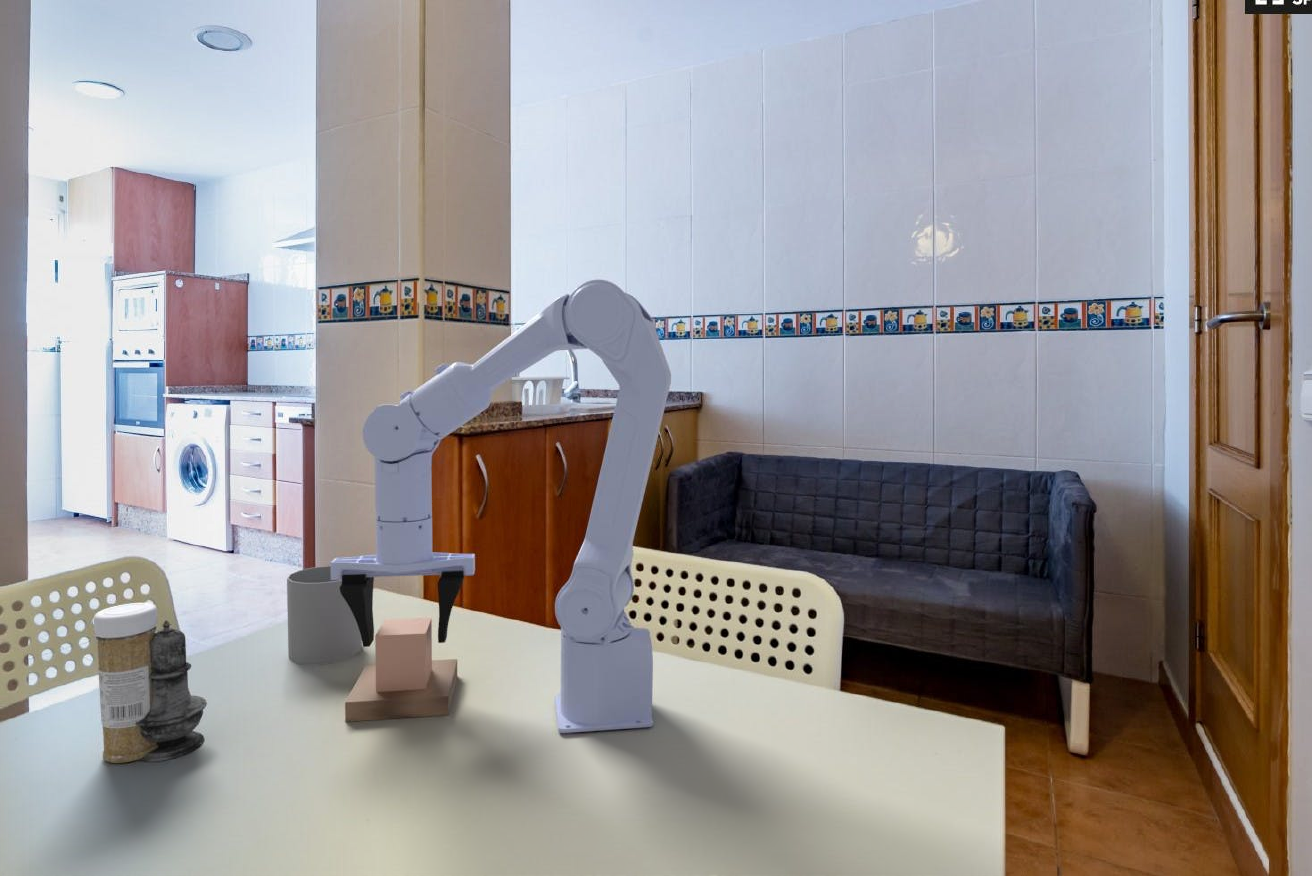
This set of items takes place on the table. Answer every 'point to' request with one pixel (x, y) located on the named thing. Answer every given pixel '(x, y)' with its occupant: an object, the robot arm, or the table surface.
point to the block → (403, 654)
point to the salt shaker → (171, 699)
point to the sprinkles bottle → (125, 677)
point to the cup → (319, 619)
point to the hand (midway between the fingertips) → (405, 641)
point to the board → (402, 696)
